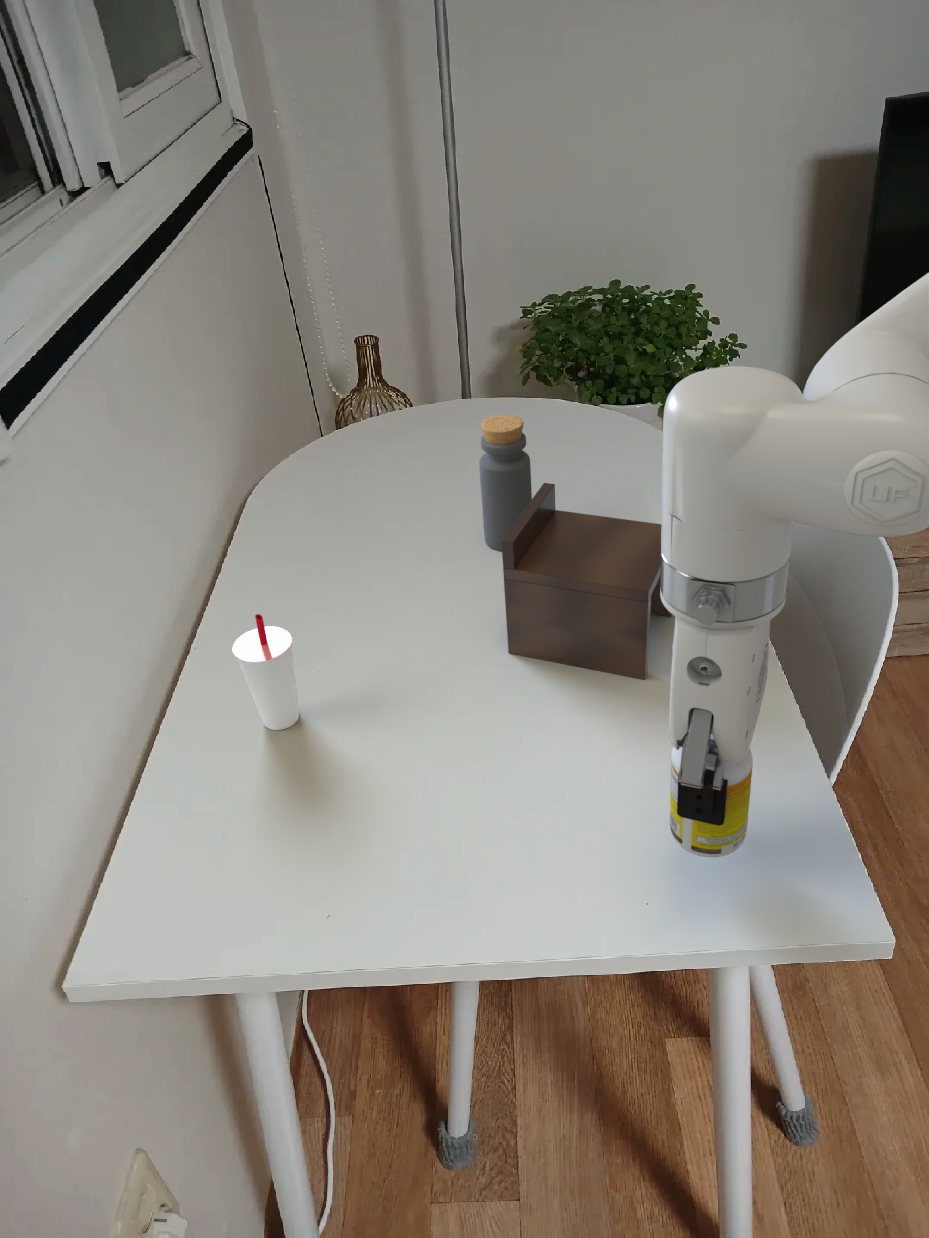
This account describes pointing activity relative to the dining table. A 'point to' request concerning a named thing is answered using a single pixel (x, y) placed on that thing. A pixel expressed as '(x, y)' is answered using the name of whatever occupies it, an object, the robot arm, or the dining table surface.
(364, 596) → the dining table surface
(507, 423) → the bottle
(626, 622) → the shelf
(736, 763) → the supplement bottle
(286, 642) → the cup
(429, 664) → the dining table surface
